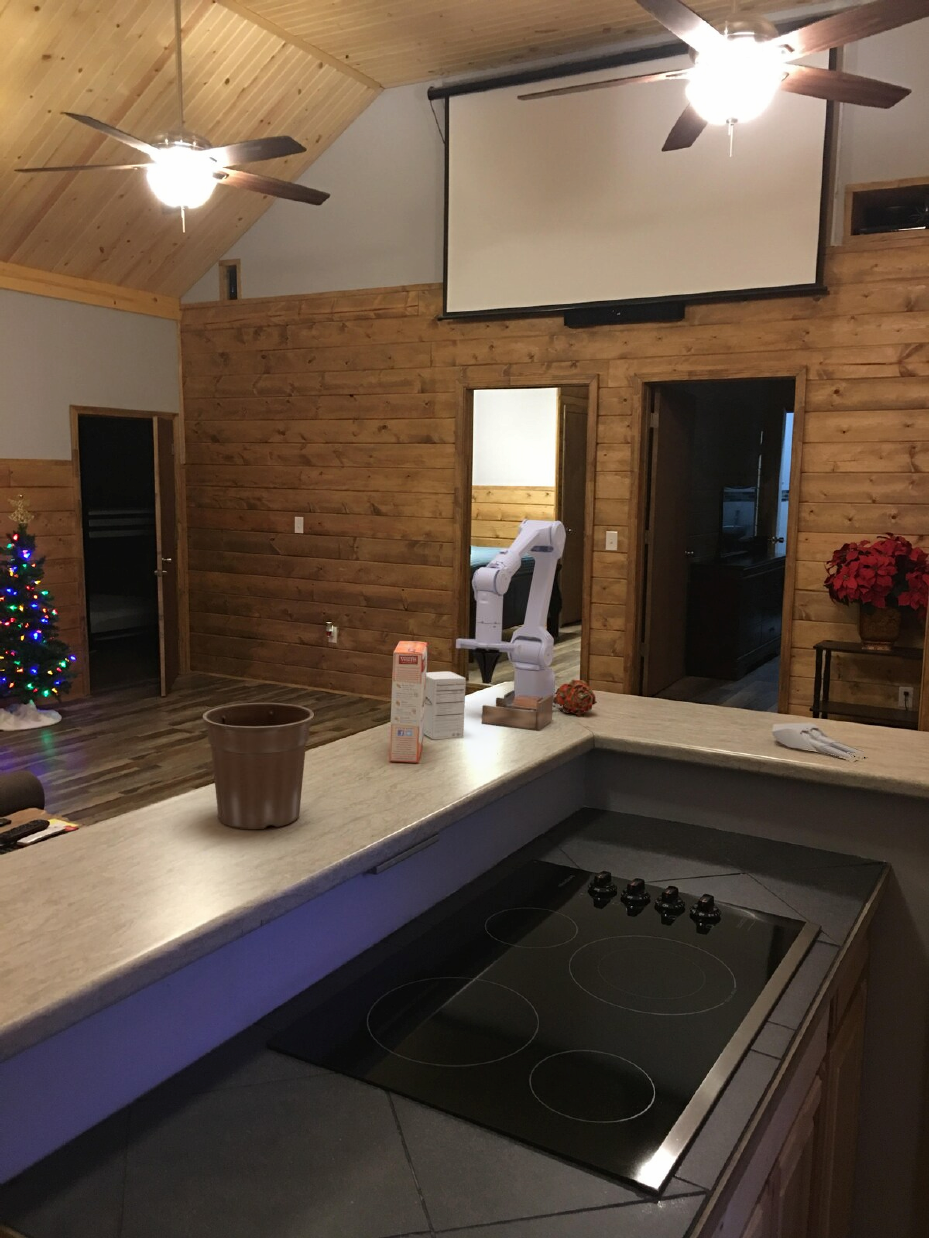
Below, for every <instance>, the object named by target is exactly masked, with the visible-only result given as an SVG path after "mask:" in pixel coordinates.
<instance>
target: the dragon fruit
mask: <svg viewBox="0 0 929 1238" xmlns="http://www.w3.org/2000/svg"><path fill="white" fill-rule="evenodd" d="M555 695H556V696H555V698H554V697H553V703H554V704H556V705H559V706H560V707H561V709H562V712H564V713H565V714H570V713H572V714H574V715H579V716H582V715H583V714H585V712H589V711H591V710H592V709H593V706H595V705H596V704H597V700H596V698H597V697H596V694H595V693H594V691H593V689H592V688H591V687H590V685H589V684H588V683H586V681H585V680H583V679H582V680H581V679H579V680H578V679H577V680H576V679H570V682H568V683H563V684H561V685H560V687H558V688H557V690H555Z"/></svg>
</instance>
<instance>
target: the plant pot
mask: <svg viewBox="0 0 929 1238" xmlns="http://www.w3.org/2000/svg"><path fill="white" fill-rule="evenodd" d="M314 716H315V715H314V712H313V710H311V709H310V708H308V707H305V706H301V705H298V704H289V703H287V704H286V703H278V702H249V703H248V702H247V703H237V704H230V705H223V706H219V707H215V708H213V709H210V710H208V711H206V712H204V713H203V715H202V720H203V722H204V723H205V724H206V733H207V739H208V740H207V742H208V744H209V745H210V749H211V758H212V767H213V776H214V777H213V779H214V788H215V796H216V797H215V799H216V807H217V809H216V810H217V818H218V820H220V821H221V823H222V824H223V825H225V826H229V827H232V828H234V829H239V830H240V829H241V830H263V829H266V828H267V827H269V826H274V827H276V828H278V827H282V826H285V825H288V824H291V823H293V822H295V821H296V820H297V819H298V818H299V817H300V814H301V813H300V812H301V802H302V791H303V782H304V781H303V778H304V770H305V769H304V768H305V759H306V758H305V757H306V750H307V749H306V747H307V743H308V742H309V736H310V728H311V727H310V726H311V721H312V720H313V719H314Z"/></svg>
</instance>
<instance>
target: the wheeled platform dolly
mask: <svg viewBox="0 0 929 1238" xmlns="http://www.w3.org/2000/svg"><path fill="white" fill-rule="evenodd" d="M503 698H504V705H503V707H504V708H513V709H521V710H530V711H536V707H537V702H539V701H540V700H542V699H543V697H538V696H529V695H519V696H517V697H515V691H514V689H513V690H511V691H509V692H507V693H505V694H504V696H503Z"/></svg>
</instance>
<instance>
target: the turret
mask: <svg viewBox="0 0 929 1238" xmlns="http://www.w3.org/2000/svg"><path fill="white" fill-rule="evenodd" d="M771 733H772V736H773V738H774V739H775V740H776V741H777V742H779V743H780V744H783V745H784V746H787V747H788V748H792V749H797V748H798V750H801V749H808V750H816V751H819V752H820V753H824V754H826V753H829V754H832V755H831V756H833V754H834V755H836V756H842V757H846V758H850V759H853V758H855V757H856V756H855V757H854V755H852V754H850V753H858V754H860V755H862V754H863V753H865V752H864V751H863V750H860V749H858V748H855V747H852V746H849V745H847V744H844V743H842V742H840V741H838V740H836V739H833V738H830V737H829V736H828V735H827V734H826V733H825V732H824V731H823V730H822V729H821V728H820V727H819V726H818V725H816V724H814V723H812V722H809V721H807V722H792V723H791V722H790V723H789V722H787V723H773V727H772V730H771ZM847 752H850V753H847ZM861 753H862V754H861ZM829 754H828V755H829ZM836 756H835V757H836Z"/></svg>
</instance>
